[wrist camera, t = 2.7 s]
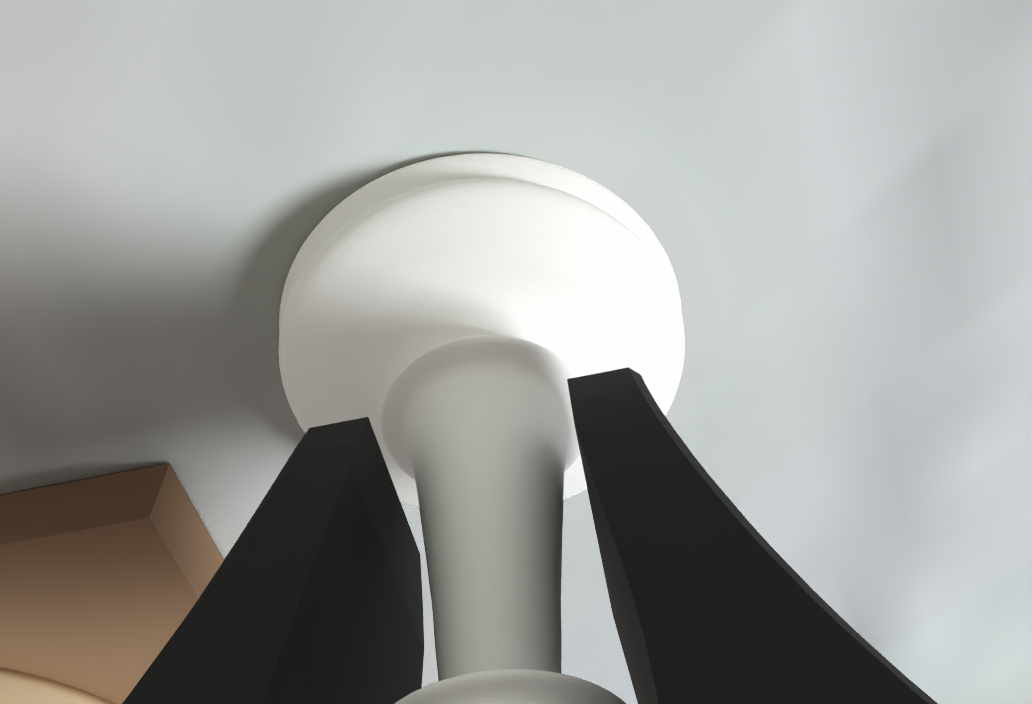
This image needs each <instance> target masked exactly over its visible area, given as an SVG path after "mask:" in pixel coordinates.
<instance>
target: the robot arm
mask: <svg viewBox="0 0 1032 704" xmlns="http://www.w3.org/2000/svg"><path fill="white" fill-rule="evenodd" d="M567 382H568V388H569V395H570V401H571V407H572V413H573V419H574V425H575V430H576V435H577V440H578V445H579V450H580V455H581V460H582V465H583V470H584V474H585V479H586V484H587V489H588V494H589V499H590V504H591V509H592V514H593V519H594V524H595V529H596V534H597V539H598V543H599V548H600V553H601V558H602V563H603V568H604V573H605V578H606V583H607V588H608V593H609V598H610V603H611V608H612V612H613V617H614V620H615V624H616V627H617V631H618V634H619V638H620V641H621V645H622V648H623V652H624V655H625V659H626V663H627V666H628V670H629V673H630V677H631V680H632V684H633V687H634V691H635V694H636V698H637V701H638V704H937V703H936V702H935V701H934V700H933V699H932V698H930V697H929V696H928V695H927V694H926V693H924V692H923V691H922V690H921V689H920V688H919V687H917V686H916V685H915V684H914V683H913V682H912V681H910V680H909V679H908V678H907V677H906V676H905V675H903V674H902V673H901V672H900V671H899V670H898V669H897V668H896V667H895V666H893V665H892V664H891V663H890V662H889V661H888V660H887V659H886V658H885V657H883V656H882V655H881V654H880V653H879V652H878V651H877V650H876V649H875V648H874V647H872V646H871V645H870V644H869V643H868V642H867V641H866V640H865V639H864V638H862V637H861V636H860V635H859V634H858V633H857V632H856V631H855V630H854V629H853V628H852V627H851V626H850V625H849V624H847V623H846V622H845V621H844V620H843V619H842V618H841V617H840V616H839V615H838V614H837V613H836V612H835V611H834V610H833V609H832V608H831V607H830V606H829V605H828V604H827V603H826V602H825V601H824V600H823V599H822V598H821V597H820V596H819V595H818V594H817V593H816V592H815V591H814V590H813V589H812V588H811V587H810V586H809V585H808V584H807V583H806V582H805V581H804V580H803V579H802V578H801V577H800V576H799V575H798V574H797V573H796V572H795V571H794V570H793V569H792V568H791V567H790V566H789V565H788V564H787V563H786V562H785V561H784V560H783V558H782V557H781V556H780V555H779V554H778V553H777V552H776V551H775V550H774V549H773V548H772V547H771V546H770V545H769V544H768V543H767V541H766V540H765V539H764V538H763V537H762V536H761V535H760V534H759V533H758V532H757V530H756V529H755V528H754V527H753V526H752V525H751V524H750V523H749V522H748V521H747V519H746V518H745V517H744V516H743V515H742V513H741V512H740V511H739V510H738V509H737V508H736V506H735V505H734V504H733V503H732V502H731V501H730V499H729V498H728V497H727V496H726V495H725V493H724V492H723V491H722V490H721V489H720V488H719V486H718V485H717V484H716V483H715V482H714V480H713V479H712V478H711V477H710V476H709V475H708V473H707V472H706V471H705V469H704V468H703V467H702V466H701V464H700V463H699V462H698V461H697V459H696V458H695V457H694V456H693V454H692V453H691V452H690V450H689V449H688V447H687V446H686V445H685V443H684V442H683V441H682V439H681V438H680V437H679V435H678V434H677V433H676V431H675V430H674V428H673V427H672V426H671V424H670V423H669V421H668V420H667V418H666V417H665V415H664V414H663V412H662V411H661V409H660V408H659V406H658V405H657V403H656V401H655V400H654V398H653V396H652V395H651V393H650V391H649V390H648V388H647V386H646V384H645V382H644V380H643V378H642V376H641V375H640V374H639V373H637V372H635V371H634V370H632V369H631V368H629V367H628V368H622V369H617V370H612V371H607V372H601V373H596V374H591V375H586V376H580V377H575V378H570V379H567ZM423 656H424V630H423V602H422V582H421V563H420V553H419V551H418V548H417V545H416V543H415V540H414V537H413V535H412V532H411V529H410V527H409V524H408V521H407V519H406V516H405V513H404V511H403V508H402V505H401V503H400V500H399V497H398V495H397V492H396V489H395V487H394V484H393V481H392V479H391V476H390V473H389V471H388V468H387V465H386V463H385V460H384V457H383V455H382V452H381V449H380V447H379V444H378V441H377V439H376V436H375V433H374V431H373V428H372V425H371V423H370V420H369V417H364V418H359V419H354V420H348V421H343V422H338V423H333V424H327V425H322V426H317V427H311V428H309V429H308V431H307V432H306V434H305V435H304V436H303V438H302V439H301V441H300V442H299V444H298V445H297V447H296V448H295V450H294V452H293V453H292V455H291V456H290V458H289V459H288V461H287V462H286V464H285V466H284V467H283V469H282V470H281V472H280V474H279V475H278V477H277V478H276V480H275V482H274V483H273V485H272V486H271V488H270V489H269V491H268V493H267V494H266V496H265V497H264V499H263V501H262V502H261V504H260V505H259V507H258V509H257V510H256V512H255V513H254V515H253V516H252V518H251V520H250V521H249V523H248V524H247V526H246V527H245V529H244V531H243V532H242V534H241V535H240V537H239V538H238V540H237V541H236V543H235V544H234V546H233V547H232V549H231V550H230V552H229V553H228V555H227V556H226V558H225V559H224V561H223V562H222V564H221V565H220V567H219V568H218V570H217V571H216V573H215V574H214V576H213V577H212V579H211V580H210V582H209V583H208V585H207V586H206V588H205V589H204V591H203V592H202V594H201V595H200V597H199V598H198V600H197V601H196V603H195V604H194V606H193V607H192V609H191V610H190V612H189V613H188V614H187V616H186V617H185V619H184V620H183V622H182V623H181V624H180V626H179V627H178V628H177V630H176V631H175V632H174V634H173V635H172V637H171V638H170V639H169V641H168V642H167V643H166V645H165V646H164V647H163V649H162V650H161V652H160V653H159V654H158V656H157V657H156V658H155V660H154V661H153V662H152V664H151V665H150V667H149V668H148V669H147V671H146V672H145V673H144V675H143V676H142V678H141V679H140V680H139V682H138V683H137V684H136V686H135V687H134V688H133V690H132V691H131V693H130V694H129V695H128V697H127V698H126V699H125V700H124V702H123V703H122V704H395V703H396V702H397V701H399V700H400V699H402V698H404V697H406V696H407V695H409V694H411V693H412V692H414V691H416V690H419V689H421V685H422V671H423Z"/></svg>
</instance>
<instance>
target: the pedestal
mask: <svg viewBox="0 0 1032 704" xmlns="http://www.w3.org/2000/svg"><path fill="white" fill-rule="evenodd" d="M223 561H224V559H223V557H222V555H221V553H220V552H219V550H218V548H217V546H216V545H215V543H214V541H213V539H212V538H211V536H210V534H209V532H208V531H207V529H206V527H205V525H204V523H203V522H202V520H201V518H200V516H199V515H198V513H197V511H196V509H195V508H194V506H193V504H192V502H191V500H190V499H189V497H188V495H187V493H186V492H185V490H184V488H183V486H182V485H181V483H180V481H179V479H178V477H177V476H176V474H175V472H174V470H173V469H172V467H171V465H170V463H168V464H163V465H158V466H153V467H147V468H142V469H137V470H131V471H126V472H121V473H116V474H110V475H105V476H100V477H94V478H89V479H84V480H78V481H73V482H68V483H63V484H57V485H52V486H47V487H41V488H36V489H31V490H26V491H20V492H15V493H10V494H4V495H0V704H122V703H123V702H124V700H125V699H126V698H127V697H128V695H129V694H130V693H131V691H132V690H133V688H134V687H135V686H136V684H137V683H138V682H139V680H140V679H141V678H142V676H143V675H144V673H145V672H146V671H147V669H148V668H149V667H150V665H151V664H152V662H153V661H154V660H155V658H156V657H157V656H158V654H159V653H160V652H161V650H162V649H163V647H164V646H165V645H166V643H167V642H168V641H169V639H170V638H171V637H172V635H173V634H174V632H175V631H176V630H177V628H178V627H179V626H180V624H181V623H182V622H183V620H184V619H185V617H186V616H187V614H188V613H189V612H190V610H191V609H192V607H193V606H194V604H195V603H196V601H197V600H198V598H199V597H200V595H201V594H202V592H203V591H204V589H205V588H206V586H207V585H208V583H209V582H210V580H211V579H212V577H213V576H214V574H215V573H216V571H217V570H218V568H219V567H220V565H221V564H222V562H223Z"/></svg>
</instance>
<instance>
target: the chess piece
mask: <svg viewBox="0 0 1032 704" xmlns="http://www.w3.org/2000/svg"><path fill="white" fill-rule="evenodd" d="M279 335H280V336H279V365H280V373H281V379H282V383H283V387H284V391H285V394H286V397H287V400H288V402H289V405H290V407H291V409H292V412H293V414H294V415H295V417H296V419H297V421H298V423H299V425H300V426H301V428H302V429H303V431H304V432H305V434H306V432H307V431H308V429H309V428H311V427H317V426H322V425H327V424H333V423H338V422H343V421H348V420H354V419H359V418H364V417H369V420H370V423H371V425H372V428H373V431H374V433H375V436H376V439H377V441H378V444H379V447H380V449H381V452H382V455H383V457H384V460H385V463H386V465H387V468H388V471H389V473H390V476H391V479H392V481H393V484H394V487H395V489H396V492H397V495H398V497H399V500H400V503H403V504H406V505H410V506H413V507H417V508H419V509H420V516H421V523H422V530H423V537H424V545H425V552H426V559H427V568H428V576H429V584H430V592H431V599H432V609H433V621H434V636H435V648H436V659H437V668H438V679H439V682H436V683H433V684H430V685H428V686H426V687H423V688H421V689H419V690H416V691H414V692H412V693H411V694H409V695H407V696H406V697H404V698H402V699H400V700H399V701H397V702H396V703H395V704H626V703H625V702H624V701H622V700H621V699H620V698H619V697H617V696H616V695H614V694H613V693H611V692H610V691H608V690H606V689H604V688H602V687H600V686H598V685H596V684H593V683H591V682H589V681H586V680H583V679H580V678H577V677H573V676H569V675H565V674H561V564H562V523H563V500H564V499H567V498H569V497H571V496H574V495H576V494H578V493H580V492H582V491H584V490H586V489H587V484H586V479H585V474H584V470H583V465H582V460H581V455H580V450H579V445H578V440H577V435H576V430H575V425H574V419H573V413H572V407H571V401H570V395H569V388H568V382H567V379H570V378H575V377H580V376H586V375H591V374H596V373H601V372H607V371H612V370H617V369H622V368H628V367H629V368H631V369H632V370H634V371H635V372H637V373H639V374H640V375H641V376H642V378H643V380H644V382H645V384H646V386H647V388H648V390H649V391H650V393H651V395H652V396H653V398H654V400H655V401H656V403H657V405H658V406H659V408H660V409H661V411H662V412H663V414H664V415H665V416H666V414H667V412H668V410H669V408H670V406H671V404H672V402H673V399H674V397H675V394H676V391H677V388H678V385H679V382H680V378H681V374H682V369H683V362H684V350H685V338H684V327H683V320H682V314H681V301H680V294H679V289H678V284H677V281H676V277H675V274H674V271H673V269H672V266H671V263H670V261H669V259H668V257H667V255H666V253H665V251H664V249H663V247H662V245H661V244H660V242H659V241H658V239H657V238H656V236H655V235H654V233H653V232H652V230H651V229H650V228H649V226H648V225H647V224H646V223H645V222H644V221H643V220H642V218H641V217H640V216H639V215H638V214H637V213H636V212H635V211H634V210H633V209H632V208H631V207H630V206H629V205H628V204H626V203H625V202H624V201H623V200H622V199H620V198H619V197H618V196H616V195H615V194H614V193H612V192H611V191H609V190H608V189H606V188H605V187H603V186H602V185H600V184H598V183H597V182H595V181H593V180H591V179H589V178H587V177H585V176H583V175H581V174H579V173H577V172H575V171H572V170H569V169H567V168H564V167H561V166H559V165H556V164H552V163H549V162H546V161H542V160H537V159H533V158H528V157H522V156H515V155H507V154H491V153H476V154H461V155H452V156H445V157H440V158H435V159H430V160H426V161H422V162H419V163H415V164H412V165H409V166H406V167H403V168H400V169H397V170H395V171H393V172H390V173H388V174H386V175H384V176H382V177H380V178H378V179H376V180H374V181H372V182H370V183H368V184H366V185H365V186H363V187H362V188H360V189H358V190H357V191H355V192H354V193H352V194H351V195H350V196H348V197H347V198H346V199H344V200H343V201H342V202H341V203H340V204H338V205H337V206H336V207H335V208H334V209H332V210H331V211H330V212H329V213H328V214H327V215H326V216H325V217H324V218H323V219H322V221H321V222H320V223H319V224H318V225H317V226H316V227H315V229H314V230H313V231H312V232H311V234H310V235H309V236H308V238H307V239H306V241H305V242H304V244H303V245H302V247H301V248H300V250H299V252H298V254H297V255H296V257H295V259H294V262H293V264H292V266H291V268H290V271H289V273H288V276H287V279H286V282H285V285H284V289H283V293H282V298H281V304H280V312H279Z"/></svg>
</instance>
